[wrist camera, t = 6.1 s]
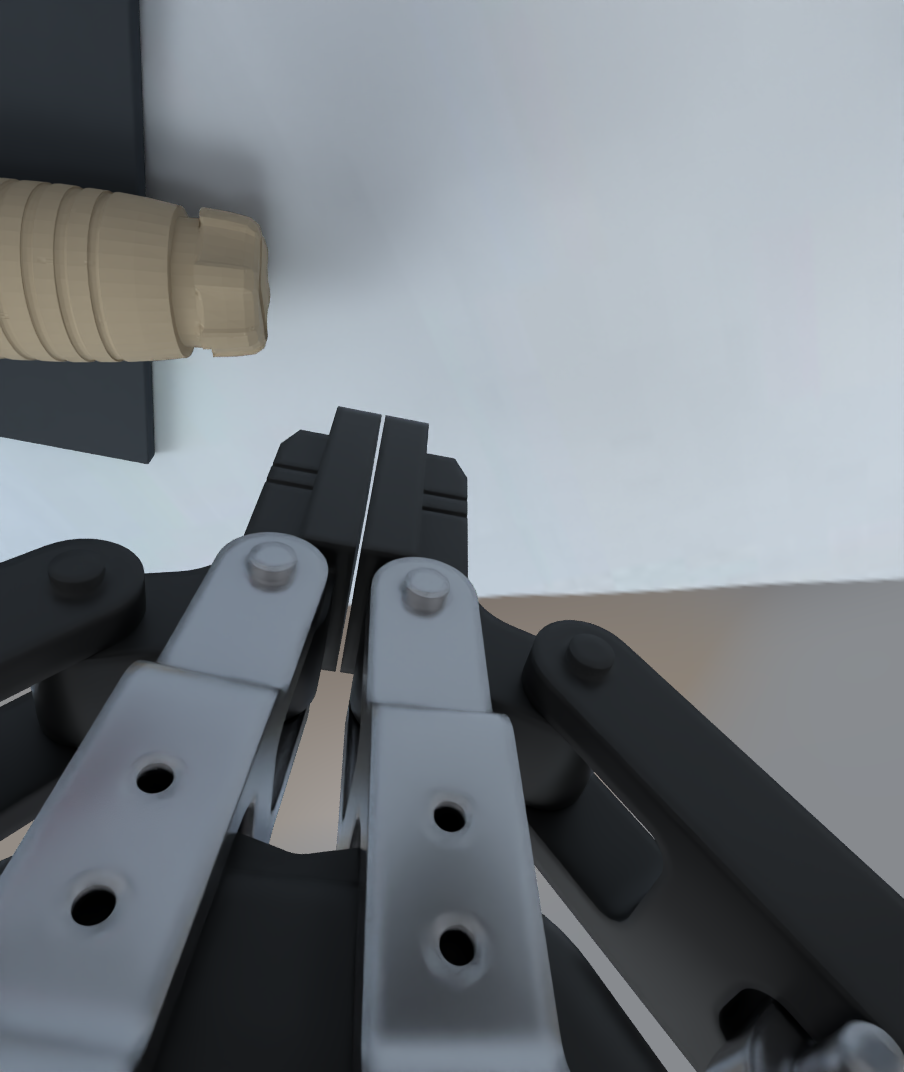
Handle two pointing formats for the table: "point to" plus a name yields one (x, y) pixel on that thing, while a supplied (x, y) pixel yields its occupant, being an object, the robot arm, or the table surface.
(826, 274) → the table surface
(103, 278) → the handle
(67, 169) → the mat
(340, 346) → the table surface
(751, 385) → the table surface
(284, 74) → the table surface
